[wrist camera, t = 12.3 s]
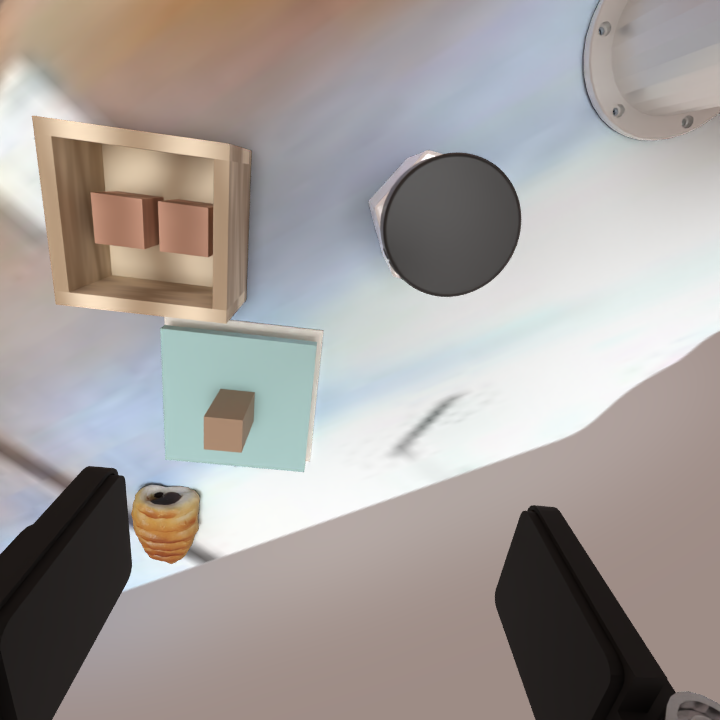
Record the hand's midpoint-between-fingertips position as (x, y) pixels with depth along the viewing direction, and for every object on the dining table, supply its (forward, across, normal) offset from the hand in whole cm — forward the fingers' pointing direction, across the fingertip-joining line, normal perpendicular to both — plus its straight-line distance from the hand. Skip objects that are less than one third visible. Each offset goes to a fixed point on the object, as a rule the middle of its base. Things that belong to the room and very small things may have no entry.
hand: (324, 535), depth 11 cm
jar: (+31, -6, -6) cm, 32 cm away
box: (+30, +14, -3) cm, 34 cm away
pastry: (+31, +15, +28) cm, 44 cm away
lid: (+30, +8, +12) cm, 33 cm away
